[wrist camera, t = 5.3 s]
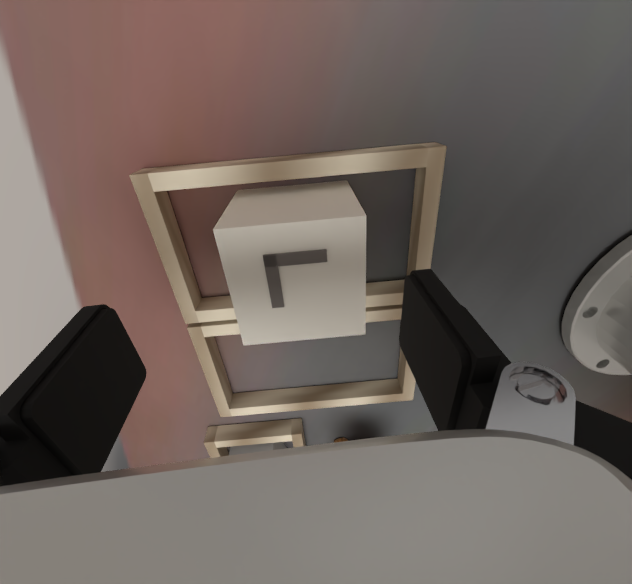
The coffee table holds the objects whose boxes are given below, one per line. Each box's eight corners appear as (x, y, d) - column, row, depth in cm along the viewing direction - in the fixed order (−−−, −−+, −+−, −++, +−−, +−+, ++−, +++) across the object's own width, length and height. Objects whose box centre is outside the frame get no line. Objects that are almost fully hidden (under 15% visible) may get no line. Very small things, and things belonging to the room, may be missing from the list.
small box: (301, 418, 26) (301, 433, 24) (309, 468, 30) (310, 484, 28) (208, 426, 26) (203, 442, 24) (229, 476, 30) (226, 492, 28)
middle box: (417, 293, 20) (425, 306, 18) (407, 384, 24) (412, 399, 23) (193, 313, 20) (186, 327, 18) (224, 401, 24) (220, 417, 23)
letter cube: (346, 179, 16) (366, 216, 11) (348, 274, 19) (365, 335, 14) (237, 189, 16) (212, 230, 11) (257, 283, 19) (243, 347, 14)
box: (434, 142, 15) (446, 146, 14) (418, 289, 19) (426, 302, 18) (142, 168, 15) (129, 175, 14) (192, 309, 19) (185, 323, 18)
